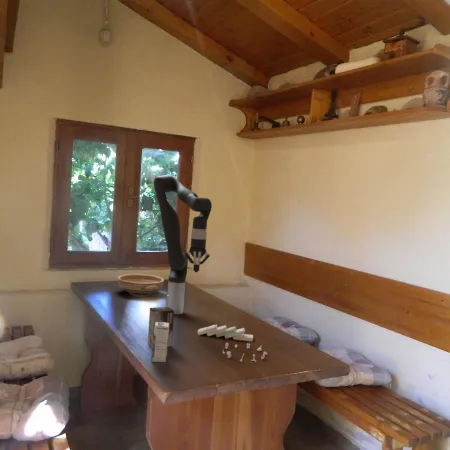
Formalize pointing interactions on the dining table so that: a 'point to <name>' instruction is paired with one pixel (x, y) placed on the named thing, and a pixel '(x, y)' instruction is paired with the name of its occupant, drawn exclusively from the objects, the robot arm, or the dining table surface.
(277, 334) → the dining table surface
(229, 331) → the domino
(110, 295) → the dining table surface
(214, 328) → the domino
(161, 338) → the syrup box
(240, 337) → the domino
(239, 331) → the domino
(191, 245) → the robot arm
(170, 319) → the coffee box
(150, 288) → the ceramic bowl
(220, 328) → the domino
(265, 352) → the game piece set
